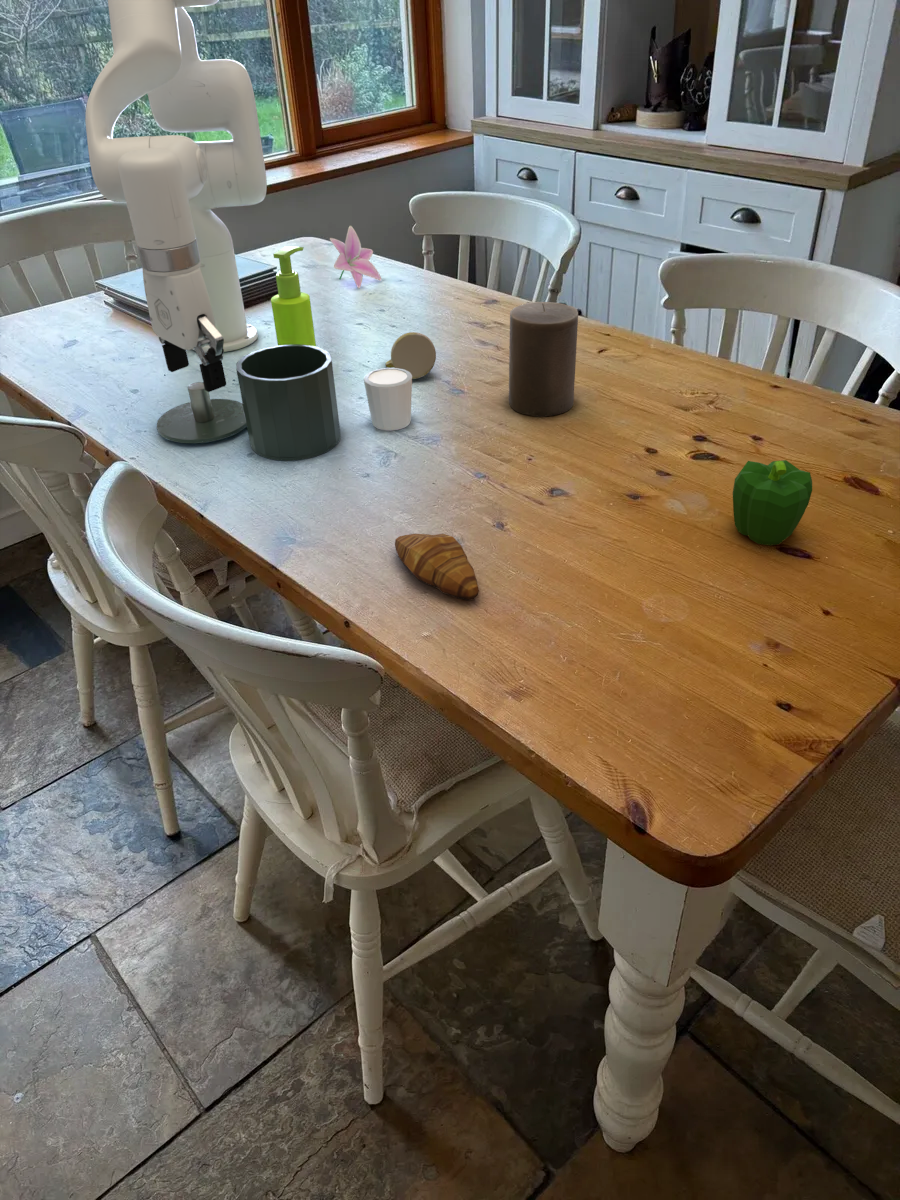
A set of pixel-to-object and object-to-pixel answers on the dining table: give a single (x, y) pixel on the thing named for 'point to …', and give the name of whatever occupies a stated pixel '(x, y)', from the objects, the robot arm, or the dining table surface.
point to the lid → (202, 418)
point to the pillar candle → (542, 358)
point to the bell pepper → (770, 500)
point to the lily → (354, 258)
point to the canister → (289, 401)
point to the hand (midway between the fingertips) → (197, 378)
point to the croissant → (439, 563)
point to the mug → (413, 354)
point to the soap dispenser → (291, 304)
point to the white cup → (389, 397)
